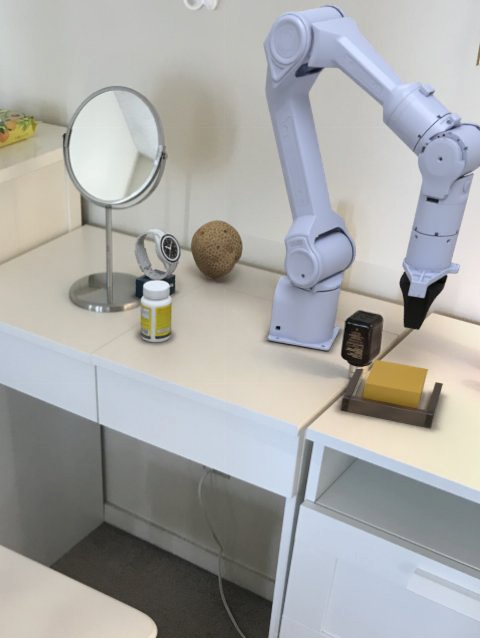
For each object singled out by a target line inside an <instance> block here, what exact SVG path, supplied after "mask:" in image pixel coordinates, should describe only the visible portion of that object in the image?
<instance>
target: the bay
mask: <svg viewBox="0 0 480 638" xmlns="http://www.w3.org/2000/svg"><path fill="white" fill-rule="evenodd" d="M363 375H364V368H361V369H356V368H355V369H354V372H353V374H352V377H351V379H350V381H349V383H348V386H347V387H346V390H345V392H344V394H343V396H342V399H341V406H340V411H342V412H343V411H344V412H348V413H352V414H359V415H363V416H367V417H373V418H378V419H382V420H388V421H393V422H398V423H403V424H407V425H413V426H416V427H417V426H418V427H423V428H427V429H431V428H432V425H433V422H434V418H435V414H436V412H437V411H436V410H437V407H438V403H439V400H440V397H441V393H442V389H443V386H444V383H443V382H437V381H436V382H434V385H433V389H432V392H431V396H430V398H429V402H428V406H427V408H426V409H423V408H419V407H418V408H413V407H408V406H403V405H398V404H393V403H388V402H382V401H377V400H372V399H367V398H362V397H363V396H356V394H357V392H358V389H359V387H360V385H361V383H362V380H363Z"/></svg>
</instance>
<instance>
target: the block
mask: <svg viewBox="0 0 480 638" xmlns="http://www.w3.org/2000/svg"><path fill="white" fill-rule="evenodd" d="M428 372H429V369H428V368H425V367H420V366H419V367H418V366H415V365H414V366H413V365H407V364H402V363H395V362H390V361H386V360H379V359H374V361H373V363H372V366H371V368H370V370H369V373H368V376H367V378H366V380H365V383H364V388H363V391H362V392H363V393H362V396H361V397H362V398H367V399H372V400H377V401H382V402H388V403H393V404H398V405H403V406H408V407H413V408H418V409H419V406H420V401H421V398H422V396H423V391H424V387H425V384H426V380H427V375H428Z"/></svg>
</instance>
